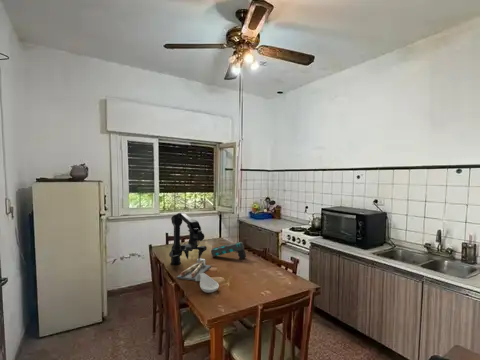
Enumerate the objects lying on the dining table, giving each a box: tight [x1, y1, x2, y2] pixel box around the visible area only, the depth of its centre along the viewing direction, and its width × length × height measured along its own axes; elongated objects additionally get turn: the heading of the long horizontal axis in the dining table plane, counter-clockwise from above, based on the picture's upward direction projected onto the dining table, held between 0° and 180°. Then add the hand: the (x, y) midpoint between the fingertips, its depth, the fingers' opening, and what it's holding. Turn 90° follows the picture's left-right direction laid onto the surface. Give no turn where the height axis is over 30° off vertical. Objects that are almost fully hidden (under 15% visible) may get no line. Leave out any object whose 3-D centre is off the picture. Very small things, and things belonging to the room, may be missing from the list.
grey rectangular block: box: [196, 258, 206, 266], centre depth 204 cm, size 3×6×5 cm, turn 74°
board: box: [176, 263, 212, 282], centre depth 194 cm, size 14×28×1 cm, turn 164°
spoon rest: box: [195, 272, 220, 294], centre depth 168 cm, size 24×12×7 cm, turn 32°
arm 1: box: [180, 262, 201, 276], centre depth 193 cm, size 22×1×2 cm, turn 156°
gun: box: [210, 241, 247, 261], centre depth 228 cm, size 6×29×15 cm, turn 78°
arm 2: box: [191, 262, 203, 277], centre depth 191 cm, size 22×1×2 cm, turn 172°
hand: (193, 259), depth 191 cm, fingers open, 9 cm apart
